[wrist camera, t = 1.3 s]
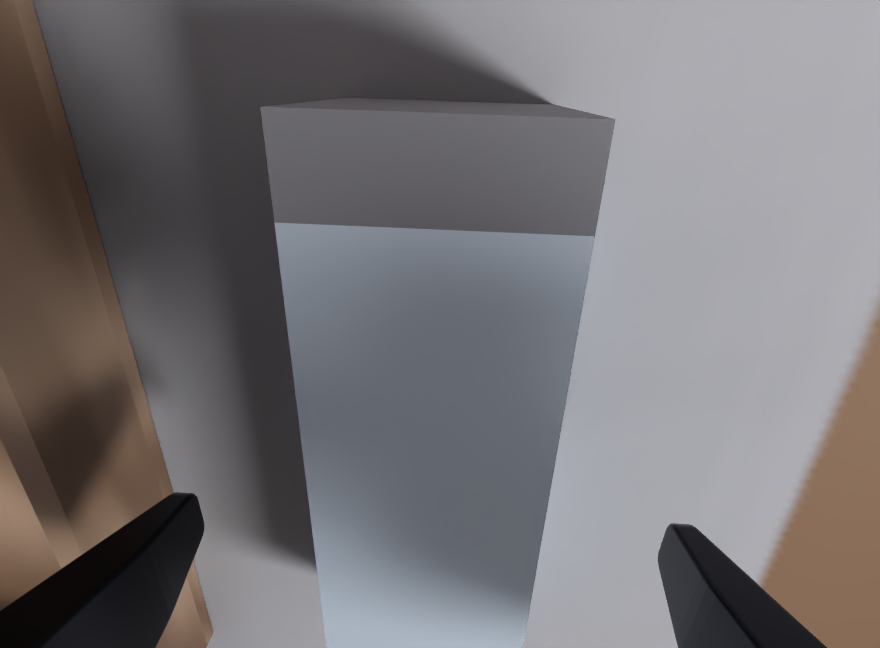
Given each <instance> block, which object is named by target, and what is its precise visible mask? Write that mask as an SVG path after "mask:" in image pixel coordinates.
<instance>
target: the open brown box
mask: <svg viewBox="0 0 880 648" xmlns="http://www.w3.org/2000/svg"><path fill="white" fill-rule="evenodd" d="M172 493H173V490H172V486H171V483H170V479H169V476H168V472H167V469H166V465H165V462H164V458H163V455H162V451H161V448H160V444H159V441H158V437H157V434H156V430H155V427H154V423H153V420H152V416H151V413H150V409H149V406H148V402H147V399H146V395H145V392H144V388H143V385H142V381H141V378H140V374H139V371H138V367H137V364H136V360H135V357H134V353H133V350H132V346H131V343H130V339H129V336H128V333H127V329H126V326H125V322H124V319H123V315H122V312H121V308H120V305H119V301H118V298H117V294H116V291H115V287H114V284H113V280H112V277H111V273H110V270H109V266H108V263H107V259H106V256H105V252H104V249H103V245H102V242H101V238H100V235H99V231H98V228H97V224H96V221H95V217H94V214H93V210H92V207H91V203H90V200H89V196H88V193H87V189H86V186H85V182H84V179H83V175H82V172H81V168H80V165H79V162H78V158H77V155H76V151H75V148H74V144H73V141H72V137H71V134H70V130H69V127H68V123H67V120H66V116H65V113H64V109H63V106H62V102H61V99H60V95H59V92H58V88H57V85H56V81H55V78H54V74H53V71H52V67H51V64H50V60H49V57H48V53H47V50H46V46H45V43H44V39H43V36H42V32H41V29H40V25H39V22H38V18H37V15H36V11H35V8H34V4H33V1H32V0H0V610H1V609H3V608H4V607H6V606H7V605H9V604H10V603H12V602H13V601H15V600H16V599H18V598H19V597H20V596H22V595H23V594H25V593H26V592H28V591H29V590H31V589H32V588H34V587H35V586H37V585H38V584H39V583H41V582H42V581H44V580H45V579H47V578H48V577H50V576H51V575H53V574H54V573H56V572H57V571H59V570H60V569H61V568H63V567H64V566H66V565H67V564H69V563H70V562H72V561H73V560H75V559H76V558H78V557H79V556H81V555H82V554H83V553H85V552H86V551H88V550H89V549H91V548H92V547H94V546H95V545H97V544H98V543H100V542H101V541H102V540H104V539H105V538H107V537H108V536H110V535H111V534H113V533H114V532H116V531H117V530H119V529H120V528H122V527H123V526H124V525H126V524H127V523H129V522H130V521H132V520H133V519H135V518H136V517H138V516H139V515H141V514H142V513H143V512H145V511H146V510H148V509H149V508H151V507H152V506H154V505H155V504H157V503H158V502H160V501H161V500H163V499H164V498H165V497H167V496H168V495H170V494H172ZM212 634H213V629H212V626H211V622H210V619H209V615H208V612H207V608H206V605H205V601H204V598H203V594H202V591H201V587H200V584H199V580H198V577H197V573H196V570H195V566H194V563H193V562H192V565H191V567H190V570H189V572H188V575H187V578H186V580H185V583H184V585H183V588H182V591H181V593H180V596H179V598H178V601H177V603H176V606H175V608H174V611H173V613H172V615H171V618H170V620H169V622H168V624H167V626H166V628H165V630H164V632H163V634H162V636H161V638H160V640H159V642H158V644H157V646H156V648H206V647H207V645H208V642H209V640H210V638H211V636H212Z"/></svg>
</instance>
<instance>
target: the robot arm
mask: <svg viewBox="0 0 880 648" xmlns="http://www.w3.org/2000/svg"><path fill="white" fill-rule="evenodd" d="M203 532H204V521H203V517H202V513H201V509H200V505H199V501H198V498H197V496H196V495H195V494H193V493H179V492H176V493H172V494H170V495H168V496H167V497H165V498H164V499H163V500H161V501H160V502H158V503H157V504H155V505H154V506H152V507H151V508H149V509H148V510H146V511H145V512H143V513H142V514H141V515H139V516H138V517H136V518H135V519H133V520H132V521H130V522H129V523H127V524H126V525H124V526H123V527H122V528H120V529H119V530H117V531H116V532H114V533H113V534H111V535H110V536H108V537H107V538H105V539H104V540H102V541H101V542H100V543H98V544H97V545H95V546H94V547H92V548H91V549H89V550H88V551H86V552H85V553H83V554H82V555H81V556H79V557H78V558H76V559H75V560H73V561H72V562H70V563H69V564H67V565H66V566H64V567H63V568H61V569H60V570H59V571H57V572H56V573H54V574H53V575H51V576H50V577H48V578H47V579H45V580H44V581H42V582H41V583H39V584H38V585H37V586H35V587H34V588H32V589H31V590H29V591H28V592H26V593H25V594H23V595H22V596H20V597H19V598H18V599H16V600H15V601H13V602H12V603H10V604H9V605H7V606H6V607H4V608H3V609H1V610H0V648H156V646H157V644H158V642H159V640H160V638H161V636H162V634H163V632H164V630H165V628H166V626H167V624H168V622H169V620H170V618H171V615H172V613H173V611H174V608H175V606H176V603H177V601H178V598H179V596H180V593H181V591H182V588H183V585H184V583H185V580H186V578H187V575H188V572H189V570H190V567H191V565H192V562H193V560H194V557H195V554H196V552H197V549H198V547H199V544H200V541H201V539H202V536H203ZM658 565H659V569H660V574H661V578H662V582H663V586H664V591H665V595H666V599H667V603H668V607H669V612H670V616H671V620H672V624H673V628H674V633H675V637H676V641H677V645H678V648H827V647H826V646H825V645H824V644H823V643H821V642H820V641H819V640H818V639H817V638H816V637H815V636H814V635H813V634H812V633H811V632H809V631H808V630H807V629H806V628H805V627H804V626H803V625H802V624H801V623H799V622H798V621H797V620H796V619H795V618H794V617H793V616H792V615H791V614H790V613H789V612H788V611H786V610H785V609H784V608H783V607H782V606H781V605H780V604H779V603H778V602H777V601H776V600H774V599H773V598H772V597H771V596H770V595H769V594H768V593H767V592H766V591H765V590H764V589H762V588H761V587H760V586H759V585H758V584H757V583H756V582H755V581H754V580H753V579H752V578H750V577H749V576H748V575H747V574H746V573H745V572H744V571H743V570H742V569H741V568H739V567H738V566H737V565H736V564H735V563H734V562H733V561H732V560H731V559H730V558H729V557H727V556H726V555H725V554H724V553H723V552H722V551H721V550H720V549H719V548H718V547H717V546H715V545H714V544H713V543H712V542H711V541H710V540H709V539H708V538H707V537H706V536H705V535H703V534H702V533H701V532H700V531H699V530H698V529H697V528H696V527H694V526H692V525H689V524H674V523H673V524H670V525H669V526H668V527H667V529H666V532H665V535H664V538H663V541H662V544H661V547H660V550H659V553H658Z"/></svg>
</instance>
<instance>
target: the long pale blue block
mask: <svg viewBox="0 0 880 648" xmlns="http://www.w3.org/2000/svg"><path fill="white" fill-rule="evenodd" d="M260 110H261V118H262V126H263V134H264V142H265V150H266V159H267V167H268V175H269V183H270V191H271V199H272V208H273V216H274V224H275V232H276V240H277V248H278V257H279V265H280V273H281V281H282V289H283V297H284V306H285V314H286V322H287V330H288V338H289V346H290V355H291V363H292V371H293V379H294V387H295V395H296V404H297V412H298V420H299V428H300V436H301V444H302V453H303V461H304V469H305V477H306V485H307V493H308V501H309V510H310V518H311V526H312V534H313V542H314V550H315V559H316V567H317V575H318V583H319V591H320V599H321V608H322V616H323V624H324V632H325V640H326V648H523V643H524V638H525V632H526V626H527V621H528V615H529V609H530V603H531V598H532V592H533V586H534V581H535V575H536V569H537V563H538V558H539V552H540V546H541V541H542V535H543V529H544V523H545V518H546V512H547V506H548V501H549V495H550V489H551V483H552V478H553V472H554V466H555V461H556V455H557V449H558V443H559V438H560V432H561V426H562V421H563V415H564V409H565V403H566V398H567V392H568V386H569V381H570V375H571V369H572V363H573V358H574V352H575V346H576V341H577V335H578V329H579V323H580V318H581V312H582V306H583V301H584V295H585V289H586V283H587V278H588V272H589V266H590V261H591V255H592V249H593V243H594V238H595V232H596V226H597V220H598V215H599V209H600V203H601V198H602V192H603V186H604V180H605V175H606V169H607V163H608V158H609V152H610V146H611V140H612V135H613V129H614V123H615V119H612V118H608V117H603V116H599V115H595V114H591V113H587V112H583V111H578V110H574V109H570V108H566V107H562V106H557V105H553V104H527V103H498V102H469V101H440V100H411V99H382V98H353V97H345V98H336V99H327V100H318V101H308V102H299V103H290V104H281V105H272V106H263V107H260Z"/></svg>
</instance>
